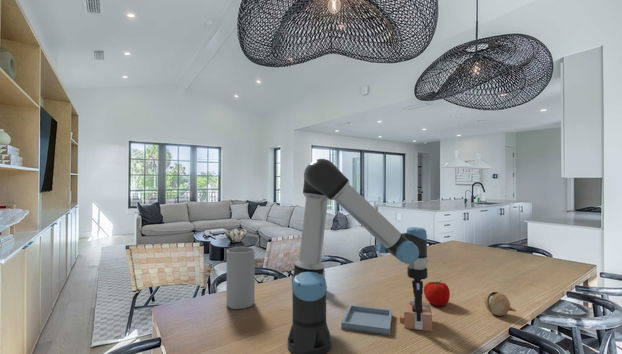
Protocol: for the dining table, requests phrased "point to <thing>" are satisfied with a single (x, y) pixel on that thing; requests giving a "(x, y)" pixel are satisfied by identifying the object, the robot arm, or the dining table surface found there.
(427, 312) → the ring frame
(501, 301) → the onion
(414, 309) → the grey t-shaped piece
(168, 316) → the dining table surface
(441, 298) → the tomato
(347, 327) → the tray
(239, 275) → the cylinder vase
